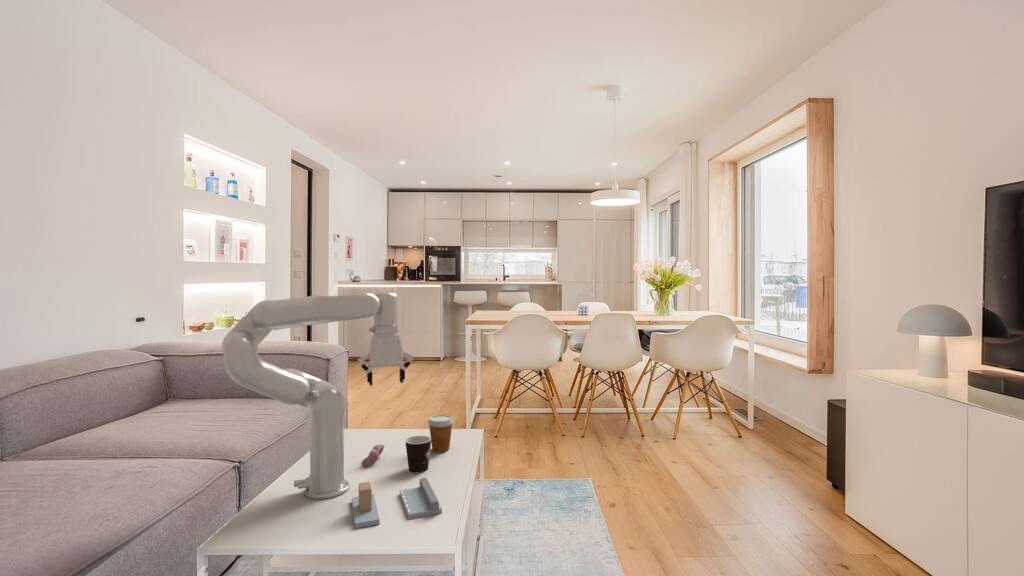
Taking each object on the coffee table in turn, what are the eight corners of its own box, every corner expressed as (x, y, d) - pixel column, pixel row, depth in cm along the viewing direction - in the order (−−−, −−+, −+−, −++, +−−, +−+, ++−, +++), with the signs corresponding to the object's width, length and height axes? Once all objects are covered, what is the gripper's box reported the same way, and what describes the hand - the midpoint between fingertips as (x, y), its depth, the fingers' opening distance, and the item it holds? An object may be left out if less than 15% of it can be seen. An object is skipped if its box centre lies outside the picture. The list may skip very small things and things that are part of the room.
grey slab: (355, 528, 123) (355, 500, 123) (351, 501, 138) (351, 476, 137) (379, 523, 125) (379, 496, 125) (373, 498, 140) (373, 473, 140)
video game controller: (371, 471, 164) (380, 453, 164) (359, 465, 164) (368, 447, 164) (379, 461, 173) (388, 443, 173) (368, 455, 173) (377, 438, 173)
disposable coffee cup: (458, 448, 182) (458, 416, 182) (442, 456, 174) (442, 423, 174) (438, 444, 187) (438, 413, 187) (422, 451, 179) (422, 419, 179)
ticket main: (408, 519, 127) (408, 506, 127) (399, 493, 143) (399, 481, 143) (442, 513, 130) (442, 500, 130) (429, 488, 146) (429, 477, 146)
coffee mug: (417, 476, 156) (417, 445, 156) (400, 470, 161) (399, 440, 161) (443, 465, 165) (443, 436, 165) (425, 460, 170) (425, 431, 170)
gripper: (358, 332, 148) (359, 388, 149) (414, 330, 155) (415, 383, 155) (357, 330, 155) (357, 383, 156) (410, 328, 162) (411, 379, 162)
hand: (386, 383), depth 155 cm, fingers open, 9 cm apart
